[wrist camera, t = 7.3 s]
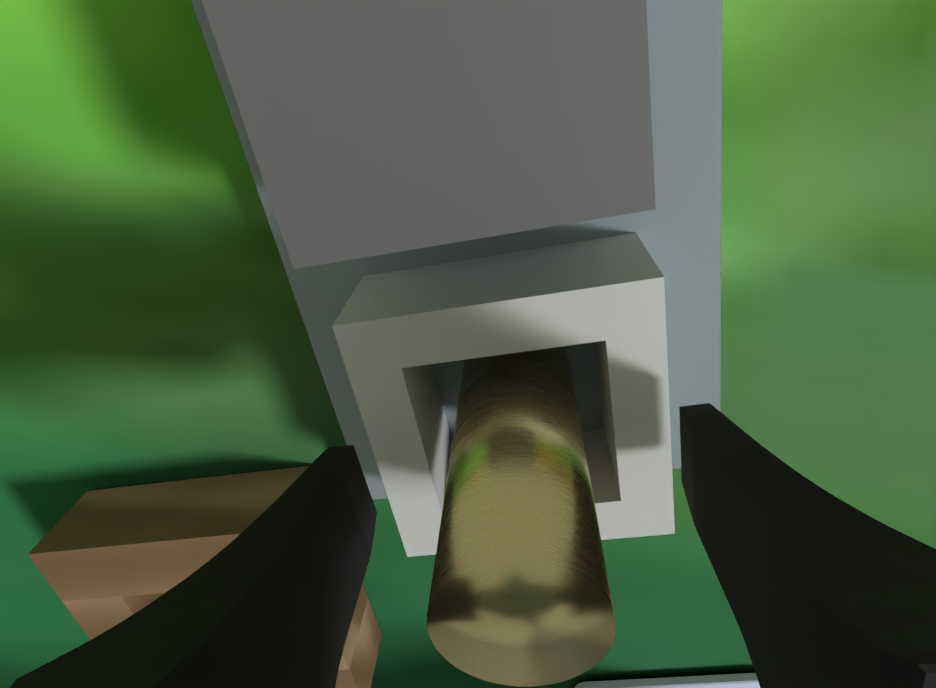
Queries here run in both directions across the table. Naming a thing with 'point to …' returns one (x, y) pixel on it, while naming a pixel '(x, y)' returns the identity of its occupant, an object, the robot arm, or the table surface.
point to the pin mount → (170, 551)
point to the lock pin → (520, 530)
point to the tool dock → (492, 217)
